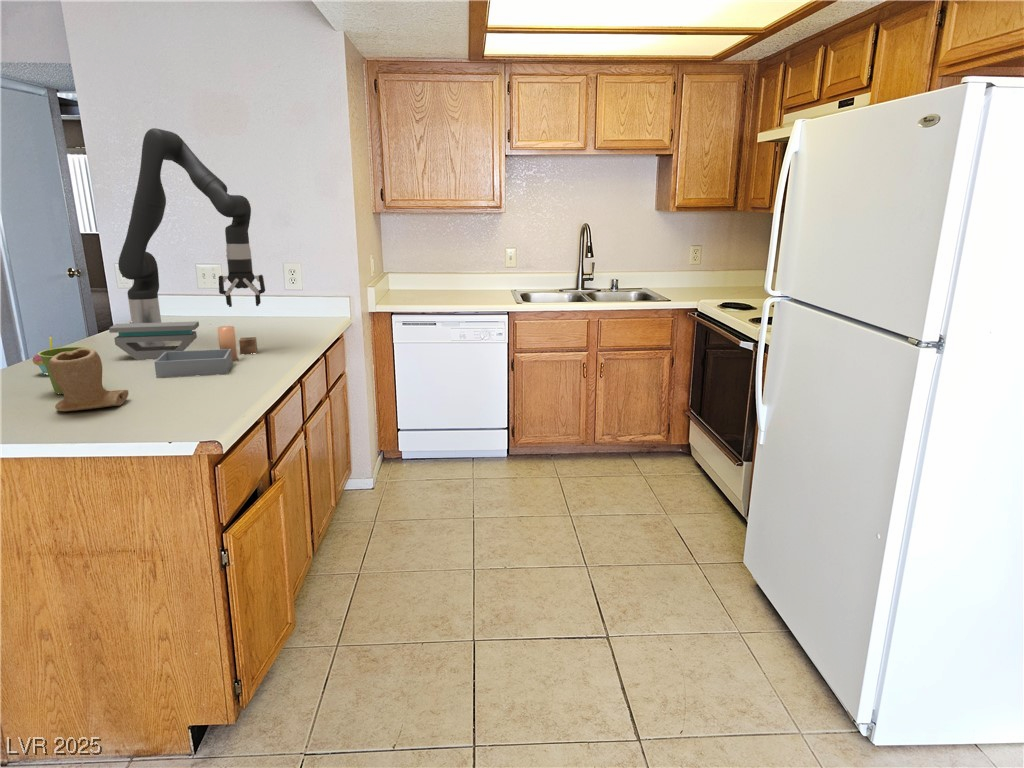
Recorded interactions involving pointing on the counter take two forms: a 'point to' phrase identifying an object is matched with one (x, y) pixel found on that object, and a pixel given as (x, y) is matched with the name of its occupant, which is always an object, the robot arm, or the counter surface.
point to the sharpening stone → (153, 337)
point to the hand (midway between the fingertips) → (244, 306)
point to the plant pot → (46, 357)
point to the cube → (248, 345)
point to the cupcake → (38, 360)
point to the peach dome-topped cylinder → (228, 340)
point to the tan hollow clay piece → (82, 381)
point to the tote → (193, 363)
